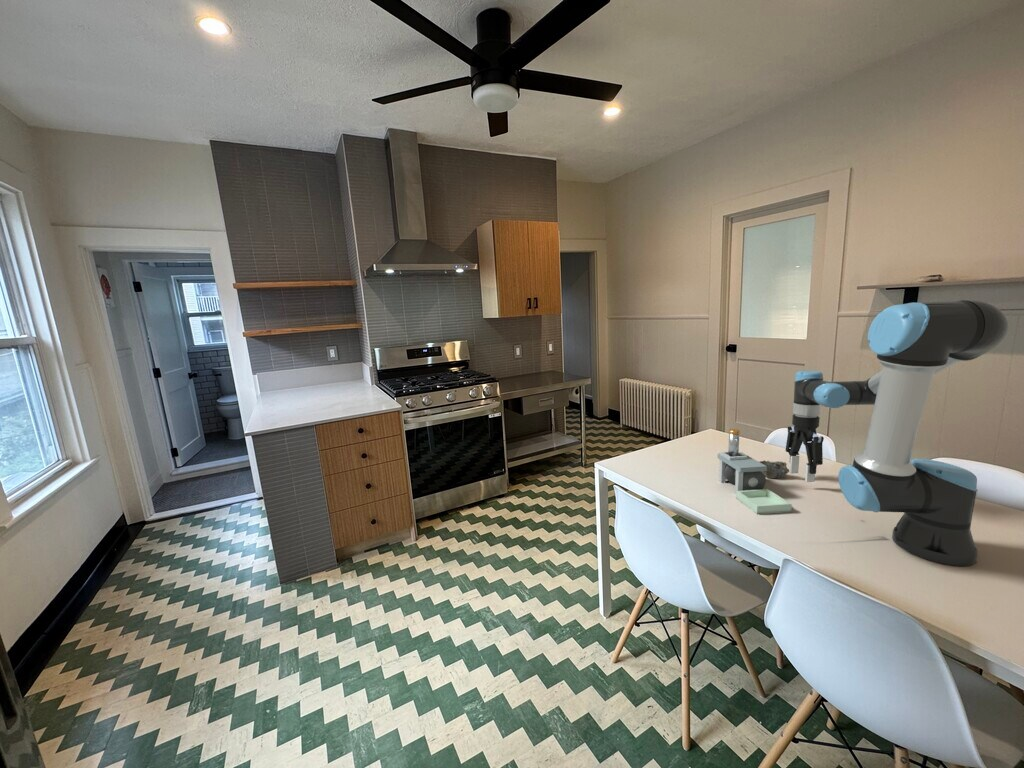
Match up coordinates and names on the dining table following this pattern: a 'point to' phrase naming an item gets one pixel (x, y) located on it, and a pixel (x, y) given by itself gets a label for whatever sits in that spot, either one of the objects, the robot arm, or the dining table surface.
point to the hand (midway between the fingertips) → (801, 477)
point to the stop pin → (733, 442)
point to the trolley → (741, 471)
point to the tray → (763, 501)
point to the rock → (775, 469)
